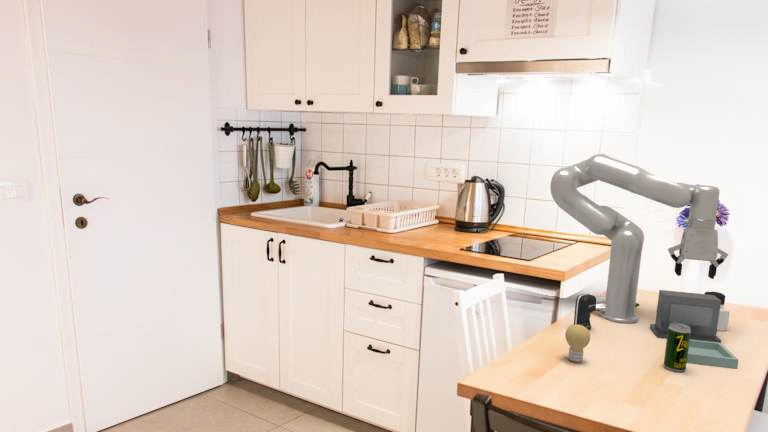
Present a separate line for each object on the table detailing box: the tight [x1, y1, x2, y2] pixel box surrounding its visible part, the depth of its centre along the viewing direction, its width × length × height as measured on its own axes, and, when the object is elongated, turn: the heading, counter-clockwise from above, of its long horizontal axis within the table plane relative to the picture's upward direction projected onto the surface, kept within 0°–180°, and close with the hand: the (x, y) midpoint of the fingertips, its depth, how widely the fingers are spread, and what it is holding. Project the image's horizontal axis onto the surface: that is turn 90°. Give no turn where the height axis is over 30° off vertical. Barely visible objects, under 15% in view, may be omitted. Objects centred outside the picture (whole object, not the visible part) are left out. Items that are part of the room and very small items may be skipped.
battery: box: [573, 293, 597, 330], centre depth 176 cm, size 7×4×11 cm, turn 129°
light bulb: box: [565, 324, 591, 363], centre depth 151 cm, size 6×6×10 cm
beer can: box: [663, 323, 691, 373], centre depth 149 cm, size 5×5×12 cm
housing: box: [649, 289, 722, 344], centre depth 175 cm, size 18×9×14 cm, turn 78°
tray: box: [687, 339, 739, 369], centre depth 159 cm, size 13×13×3 cm
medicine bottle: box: [703, 290, 730, 332], centre depth 185 cm, size 7×7×12 cm
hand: (694, 276), depth 180 cm, fingers open, 9 cm apart
